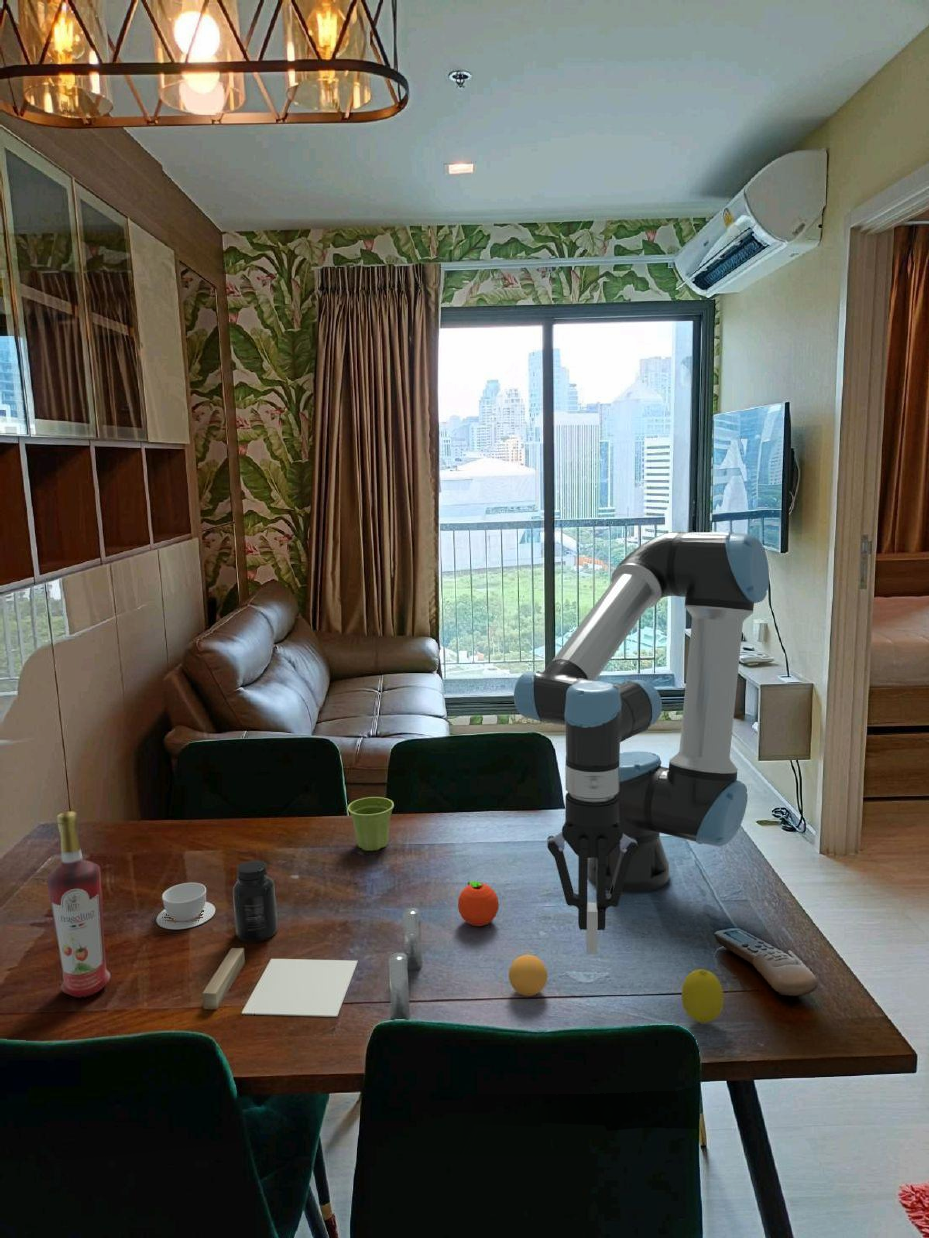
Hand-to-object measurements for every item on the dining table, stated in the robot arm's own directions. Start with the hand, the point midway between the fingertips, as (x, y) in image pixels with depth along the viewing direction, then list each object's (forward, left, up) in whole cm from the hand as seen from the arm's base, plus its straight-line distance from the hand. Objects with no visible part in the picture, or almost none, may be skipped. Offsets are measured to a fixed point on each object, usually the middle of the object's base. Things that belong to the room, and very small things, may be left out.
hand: (591, 948), depth 126 cm
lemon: (-15, +6, -8) cm, 18 cm away
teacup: (+70, -21, -8) cm, 73 cm away
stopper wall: (+55, 0, -7) cm, 56 cm away
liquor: (+76, +2, -8) cm, 77 cm away
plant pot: (+42, -50, -8) cm, 66 cm away
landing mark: (+43, 0, -7) cm, 44 cm away
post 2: (+27, -7, -7) cm, 29 cm away
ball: (+9, 0, -5) cm, 10 cm away
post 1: (+27, +6, -7) cm, 29 cm away
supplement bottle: (+55, -15, -8) cm, 58 cm away
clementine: (+18, -20, -8) cm, 28 cm away
